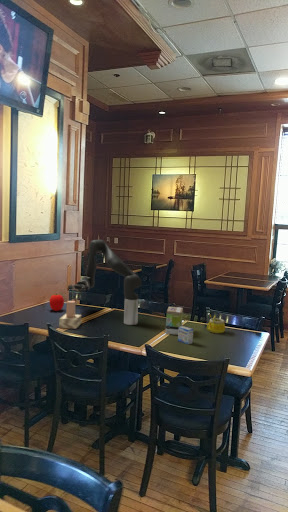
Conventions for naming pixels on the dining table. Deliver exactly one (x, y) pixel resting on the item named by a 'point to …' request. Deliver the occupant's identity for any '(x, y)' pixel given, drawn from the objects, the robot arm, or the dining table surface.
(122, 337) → the dining table surface
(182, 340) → the medicine box
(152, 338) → the dining table surface
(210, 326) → the yellow teapot
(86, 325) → the dining table surface
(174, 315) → the tea box
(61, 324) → the birch block
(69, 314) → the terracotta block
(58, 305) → the red apple
